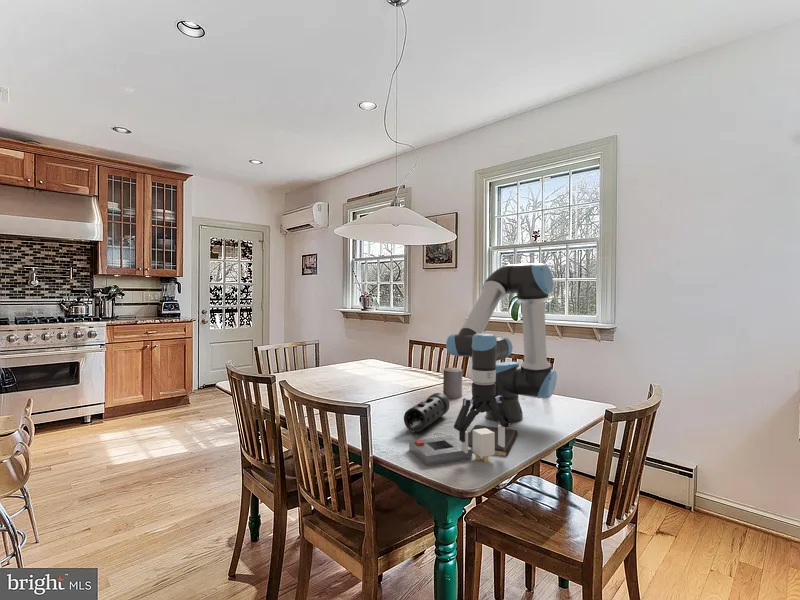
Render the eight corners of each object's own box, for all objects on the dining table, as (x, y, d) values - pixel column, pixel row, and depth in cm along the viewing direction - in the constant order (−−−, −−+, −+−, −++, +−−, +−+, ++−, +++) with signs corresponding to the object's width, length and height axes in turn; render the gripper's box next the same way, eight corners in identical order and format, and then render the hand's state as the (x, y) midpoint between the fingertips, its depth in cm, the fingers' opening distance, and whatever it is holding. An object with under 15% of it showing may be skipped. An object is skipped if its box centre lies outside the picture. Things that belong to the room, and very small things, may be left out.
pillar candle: (439, 394, 222) (439, 366, 221) (455, 392, 226) (456, 364, 225) (449, 399, 213) (449, 369, 212) (466, 397, 217) (466, 367, 217)
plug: (485, 455, 141) (485, 428, 141) (494, 461, 136) (494, 432, 136) (472, 457, 139) (472, 429, 139) (480, 463, 134) (481, 434, 134)
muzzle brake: (402, 433, 163) (402, 406, 163) (430, 414, 188) (430, 390, 188) (426, 437, 159) (426, 409, 159) (451, 416, 184) (451, 392, 184)
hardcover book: (459, 450, 147) (459, 444, 147) (475, 430, 168) (475, 424, 168) (506, 458, 140) (506, 451, 140) (517, 436, 161) (517, 429, 161)
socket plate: (451, 443, 152) (451, 433, 151) (472, 458, 138) (472, 446, 138) (409, 450, 146) (409, 438, 146) (426, 465, 133) (426, 453, 133)
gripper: (454, 388, 129) (454, 458, 130) (523, 381, 138) (523, 447, 139) (443, 383, 136) (443, 449, 137) (509, 377, 145) (509, 440, 146)
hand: (483, 448), depth 138 cm, fingers open, 13 cm apart
